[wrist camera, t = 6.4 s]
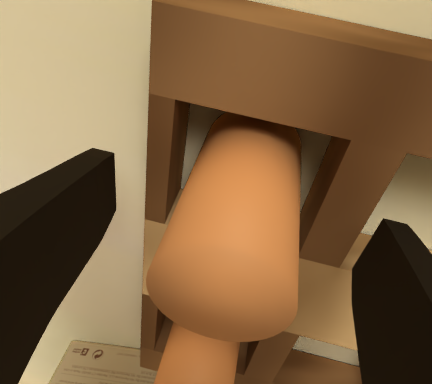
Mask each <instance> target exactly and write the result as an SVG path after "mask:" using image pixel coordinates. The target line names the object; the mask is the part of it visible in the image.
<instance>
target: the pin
mask: <svg viewBox="0 0 432 384" xmlns="http://www.w3.org/2000/svg"><path fill="white" fill-rule="evenodd" d="M239 347H240V342H231V341H223V340H217V339H213V338H209V337H205V336H202V335H199V334H196V333H194V332H191V331H189V330H187V329H185V328H183V327H181V326H180V325H178V324H176V323H175V322H173V325H172V328H171V331H170V334H169V337H168V340H167V343H166V347H165V350H164V353H163V356H162V359H161V362H160V365H159V368H158V372H157V375H156V378H155V381H154V384H234V379H235V373H236V366H237V360H238V353H239Z"/></svg>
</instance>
